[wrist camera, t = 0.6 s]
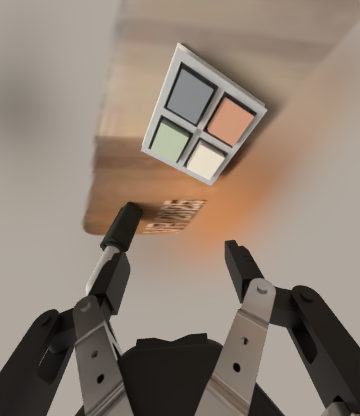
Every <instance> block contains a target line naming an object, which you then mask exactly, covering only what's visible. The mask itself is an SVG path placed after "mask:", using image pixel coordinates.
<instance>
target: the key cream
mask: <svg viewBox="0 0 360 416" xmlns="http://www.w3.org/2000/svg"><path fill="white" fill-rule="evenodd" d="M224 159H225V157H224V154H223V152H222V151H221V150H219V149H217V148H215V147H214V146H212V145H210V144H208V143H207V142H205V141H203V140H201V139H200V140H199V142H198V144H197V145H196V147H195V149H194V151H193V152H192V154H191V156H190V158H189V160H188V161H187V169H188V170H190V171H192V172H194V173H196V174H198V175H200V176H202V177H204V178H206V179H208V180H210V179H211V177H212V176H213V174H214V173H215V172H216V170H217V169H218V167H219V166H220V165H221V163H222V162H223V160H224Z"/></svg>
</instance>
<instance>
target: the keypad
mask: <svg viewBox="0 0 360 416" xmlns="http://www.w3.org/2000/svg"><path fill="white" fill-rule="evenodd" d="M182 69H184V70H185V71H187V72H188V73H190V74H191V75H193V76H194V77H196V78H197V79H198V80H200V81H201V82H203V83H204V84H206V85H207V86H209V87H210V88H212V89H213V92H212V94H211V96H210V98H209V100H208V102H207V103H206V105H205V107H204V109H203V111H202V113H201V115H200V117H199V119H198V121H197V123H196V124H194V123H192V122H191V121H189V120H187V119H186V118H184V117H182V116H181V115H179V114H177V113H176V112H174V111H172V110H171V109H169V108H167V106H168V103H169V101H170V98H171V96H172V93H173V91H174V88H175V86H176V83H177V81H178V78H179V76H180V73H181V70H182ZM224 97H226V98H227V99H229V100H230V101H232V102H233V103H235V104H236V105H238V106H239V107H241V108H242V109H244V110H245V111H247V112H248V113H250V114H251V115H253V116H254V118H253V120H252V121H251V122H250V124H249V125H248V127H247V128H246V129H245V131H244V132H243V134H242V135H241V136H240V138H239V139H238V141H237V142H236V143H235V145H234V146H232V145H230V144H228V143H226V142H225V141H223V140H221V139H220V138H218V137H216V136H215V135H213V134H211V133H210V132H208V129H207V126H208V124H209V122H210V120H211V119H212V117H213V115H214V113H215V112H216V110H217V108H218V106H219V105H220V103H221V101H222V99H223V98H224ZM265 105H266V104H264V103H263V102H261V101H260V100H259V99H257V98H256V97H254V96H253V95H252V94H250V93H249V92H247V91H246V90H245V89H243V88H242V87H240V86H239V85H237V84H236V83H235V82H233V81H232V80H230V79H229V78H228V77H226V76H225V75H223V74H222V73H221V72H219V71H218V70H216V69H215V68H213V67H212V66H211V65H209V64H208V63H206V62H205V61H204V60H202V59H201V58H199V57H198V56H197V55H195V54H194V53H192V52H191V51H189V50H188V49H187V48H185V47H184V46H182V45H181V44H180V43H178V44H177V47H176V50H175V53H174V56H173V58H172V61H171V64H170V67H169V70H168V73H167V75H166V78H165V81H164V84H163V87H162V90H161V92H160V95H159V98H158V101H157V104H156V107H155V109H154V112H153V115H152V118H151V121H150V124H149V126H148V129H147V132H146V135H145V138H144V140H143V143H142V149H141V151H143V152H145V153H147V154H149V155H151V156H153V157H155V158H157V159H159V160H161V161H163V162H165V163H167V164H168V165H170V166H172V167H174V168H176V169H178V170H180V171H182V172H184V173H186V174H188V175H190V176H192V177H194V178H196V179H198V180H200V181H202V182H204V183H206V184H208V185H210V186H211V185H212V184H213V183H214V181H215V180H216V179H217V177H218V176H219V175H220V173H221V172H222V170H223V169H224V168H225V166H226V165H227V164H228V162H229V161H230V160H231V158H232V157H233V156H234V154H235V153H236V152H237V150H238V149H239V148H240V146H241V145H242V144H243V142H244V141H245V140H246V138H247V137H248V136H249V134H250V133H251V132H252V130H253V129H254V127H255V126H256V125H257V123H258V122H259V121H260V119H261V118H262V117H263V115H264V114H265V113H266V111H267V109H265V108H264V106H265ZM164 118H165V119H166V120H168V121H170V122H172V123H173V124H175V125H177V126H178V127H180V128H182V129H184V130H185V131H187V132H189V138H188V140H187V142H186V144H185V146H184V148H183V150H182V152H181V154H180V156H179V158H178V159H177V161H176V163H174V162H172V161H170V160H169V159H167V158H165V157H163V156H161V155H159V154H157V153H155V152H153V151H151V147H152V145H153V142H154V140H155V137H156V135H157V132H158V129H159V127H160V124H161V122H162V121H163V120H164ZM200 139H201V140H203V141H205V142H207V143H208V144H210V145H212V146H214V147H215V148H217V149H219V150H221V151H222V152H223V154H224V157H225V159H224V160H223V162H222V163H221V165H220V166H219V167H218V169H217V170H216V172H215V173H214V174H213V176H212V177H211V179H210V180H208V179H206V178H204V177H202V176H200V175H198V174H196V173H194V172H192V171H190V170H188V169H187V161H188V160H189V158H190V156H191V154H192V152H193V151H194V149H195V147H196V145H197V144H198V142H199V140H200Z"/></svg>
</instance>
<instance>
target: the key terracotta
mask: <svg viewBox="0 0 360 416" xmlns="http://www.w3.org/2000/svg"><path fill="white" fill-rule="evenodd" d="M253 118H254V116H253V115H251V114H250V113H248V112H247V111H245V110H244V109H242V108H241V107H239V106H238V105H236V104H235V103H233V102H232V101H230V100H229V99H227V98H226V97H224V98H223V99H222V101H221V103H220V105H219V106H218V108H217V110H216V112H215V113H214V115H213V117H212V119H211V120H210V122H209V124H208V126H207V129H208V132H210V133H211V134H213V135H215V136H216V137H218V138H220V139H221V140H223V141H225V142H226V143H228V144H230V145H232V146H234V145H235V143H236V142H237V141H238V139H239V138H240V136H241V135H242V134H243V132H244V131H245V129H246V128H247V127H248V125H249V124H250V122H251V121H252V120H253Z"/></svg>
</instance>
